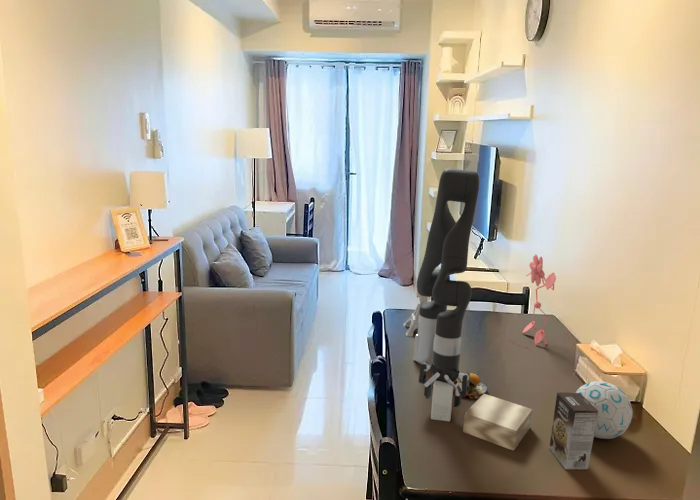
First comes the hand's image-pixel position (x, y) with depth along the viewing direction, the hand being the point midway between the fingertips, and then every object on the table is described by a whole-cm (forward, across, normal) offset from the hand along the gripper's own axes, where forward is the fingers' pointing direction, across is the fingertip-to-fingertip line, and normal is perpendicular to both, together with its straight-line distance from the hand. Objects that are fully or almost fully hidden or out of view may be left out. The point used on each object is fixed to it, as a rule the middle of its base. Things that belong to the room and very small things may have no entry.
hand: (441, 402), depth 153 cm
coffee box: (+4, +35, -2) cm, 35 cm away
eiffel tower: (+4, -31, +58) cm, 66 cm away
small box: (+4, 0, 0) cm, 4 cm away
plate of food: (+4, +2, +19) cm, 20 cm away
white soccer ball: (+4, +40, +15) cm, 43 cm away
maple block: (+4, +16, +1) cm, 16 cm away
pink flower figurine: (+4, +7, +75) cm, 75 cm away
